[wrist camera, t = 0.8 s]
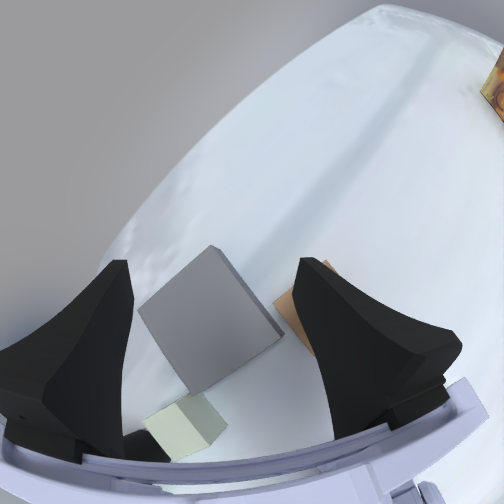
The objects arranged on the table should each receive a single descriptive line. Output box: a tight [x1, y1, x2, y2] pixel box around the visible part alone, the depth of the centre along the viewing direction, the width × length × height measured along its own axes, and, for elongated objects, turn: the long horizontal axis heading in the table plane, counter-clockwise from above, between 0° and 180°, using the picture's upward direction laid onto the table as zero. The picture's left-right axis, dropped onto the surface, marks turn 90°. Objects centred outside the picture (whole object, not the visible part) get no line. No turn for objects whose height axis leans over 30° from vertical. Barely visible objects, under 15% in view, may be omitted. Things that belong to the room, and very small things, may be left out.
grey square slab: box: [137, 245, 285, 396], centre depth 24 cm, size 10×10×3 cm
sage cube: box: [142, 392, 228, 461], centre depth 22 cm, size 5×5×5 cm
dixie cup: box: [123, 429, 171, 485], centre depth 19 cm, size 8×8×11 cm
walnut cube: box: [272, 260, 338, 356], centre depth 21 cm, size 5×5×5 cm
